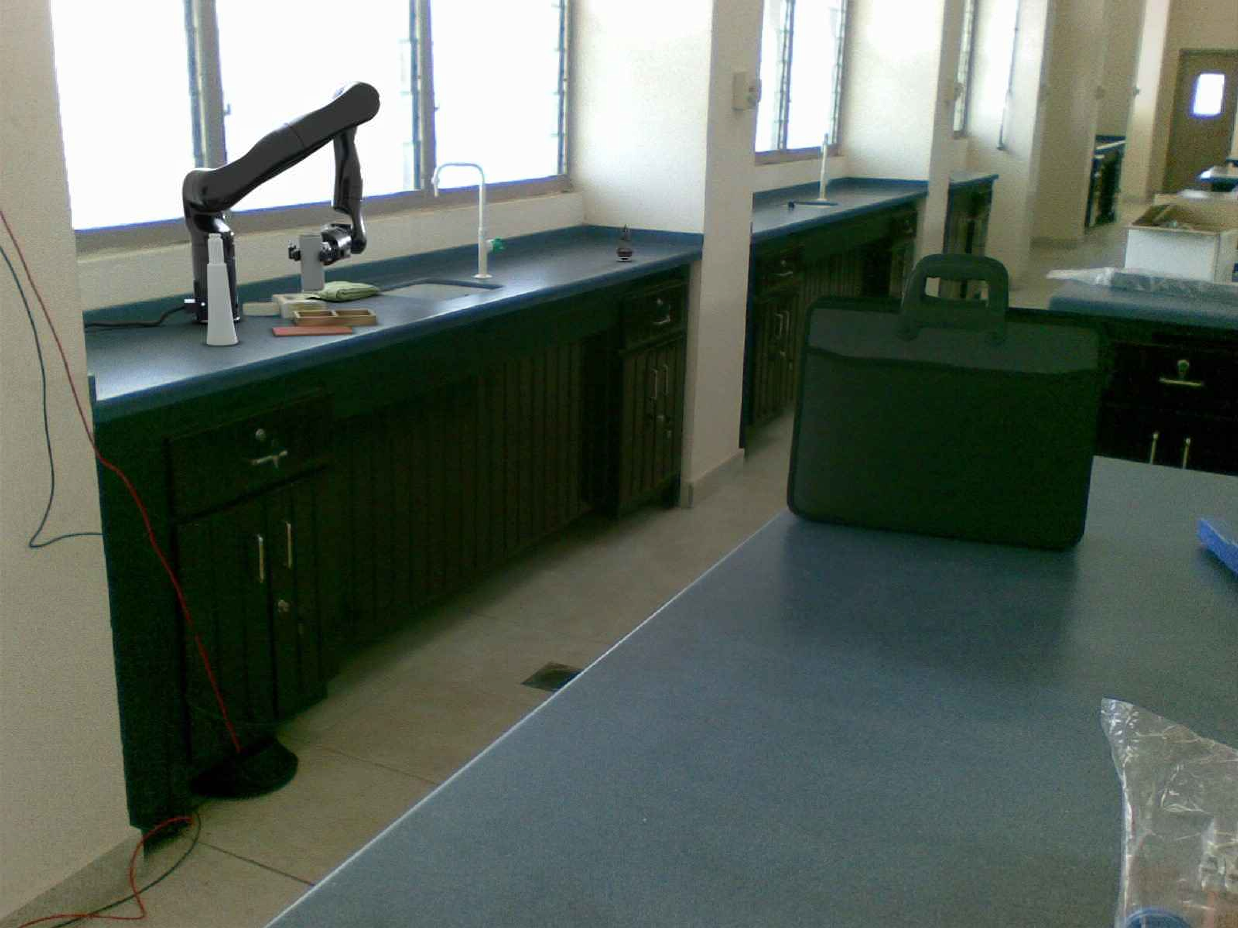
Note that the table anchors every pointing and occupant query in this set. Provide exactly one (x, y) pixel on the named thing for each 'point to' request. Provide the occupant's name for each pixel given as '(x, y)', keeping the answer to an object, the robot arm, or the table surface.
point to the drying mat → (312, 330)
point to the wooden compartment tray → (335, 317)
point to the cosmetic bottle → (218, 297)
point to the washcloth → (344, 291)
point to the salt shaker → (625, 244)
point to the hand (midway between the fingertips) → (308, 256)
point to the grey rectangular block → (311, 261)
